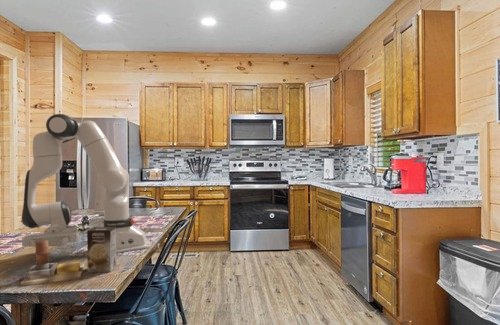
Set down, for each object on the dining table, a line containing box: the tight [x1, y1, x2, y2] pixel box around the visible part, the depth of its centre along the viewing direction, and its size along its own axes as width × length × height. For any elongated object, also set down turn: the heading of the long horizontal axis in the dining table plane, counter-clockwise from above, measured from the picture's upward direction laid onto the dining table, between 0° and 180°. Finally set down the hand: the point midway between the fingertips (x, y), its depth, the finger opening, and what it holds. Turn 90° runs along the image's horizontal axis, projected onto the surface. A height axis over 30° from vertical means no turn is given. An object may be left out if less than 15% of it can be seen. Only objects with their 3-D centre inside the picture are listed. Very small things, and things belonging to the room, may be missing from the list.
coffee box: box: [86, 226, 117, 273], centre depth 125 cm, size 9×6×16 cm
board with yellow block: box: [20, 260, 85, 287], centre depth 119 cm, size 18×14×4 cm
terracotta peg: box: [35, 240, 50, 271], centre depth 117 cm, size 4×4×12 cm
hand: (48, 243), depth 127 cm, fingers open, 8 cm apart
